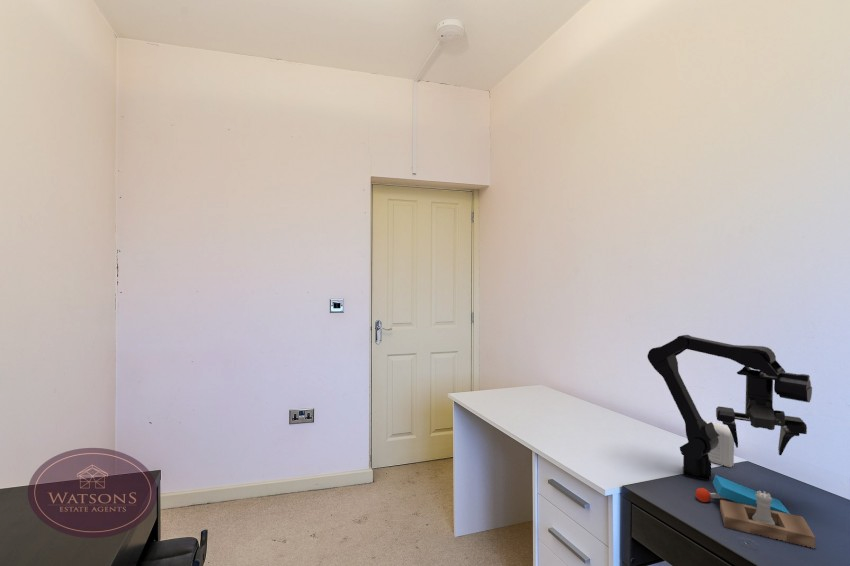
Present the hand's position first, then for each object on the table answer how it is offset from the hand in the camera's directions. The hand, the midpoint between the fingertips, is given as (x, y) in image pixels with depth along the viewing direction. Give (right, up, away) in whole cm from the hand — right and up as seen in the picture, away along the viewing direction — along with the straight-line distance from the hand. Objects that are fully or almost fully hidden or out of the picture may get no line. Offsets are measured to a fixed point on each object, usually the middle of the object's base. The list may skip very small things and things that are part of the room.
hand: (757, 450), depth 113 cm
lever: (-10, -12, -6) cm, 17 cm away
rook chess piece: (-11, -12, -15) cm, 22 cm away
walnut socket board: (-11, -12, -15) cm, 22 cm away
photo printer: (+3, -12, +21) cm, 24 cm away
